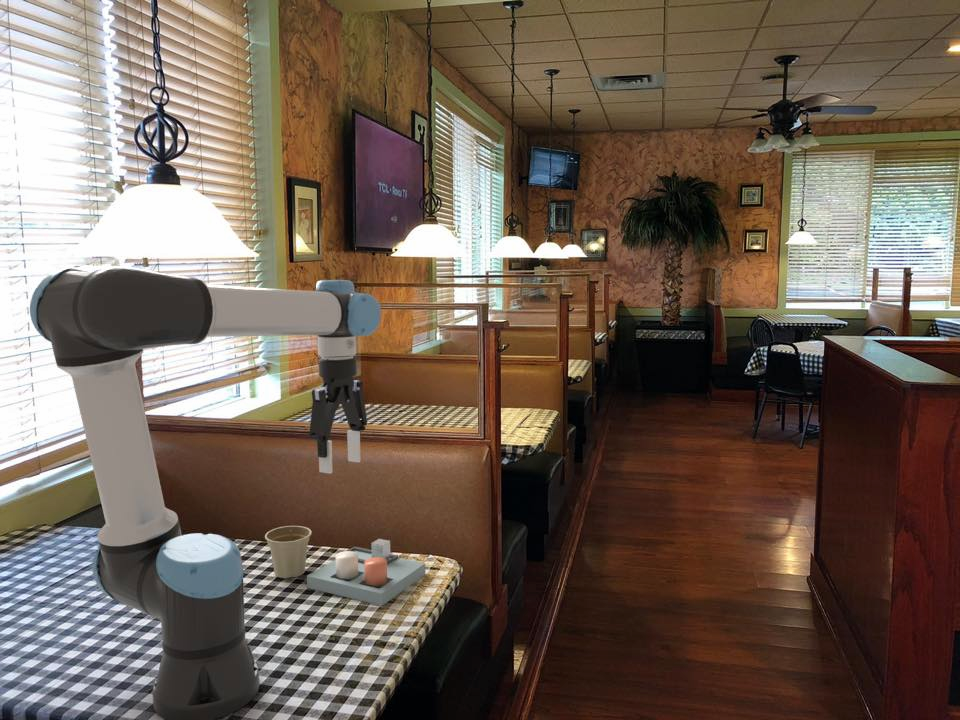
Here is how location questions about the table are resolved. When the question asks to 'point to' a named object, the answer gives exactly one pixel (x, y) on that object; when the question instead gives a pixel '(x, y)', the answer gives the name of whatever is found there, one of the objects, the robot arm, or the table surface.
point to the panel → (398, 579)
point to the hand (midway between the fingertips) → (340, 466)
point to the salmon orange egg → (375, 571)
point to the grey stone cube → (381, 549)
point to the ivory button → (346, 564)
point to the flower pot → (288, 550)
